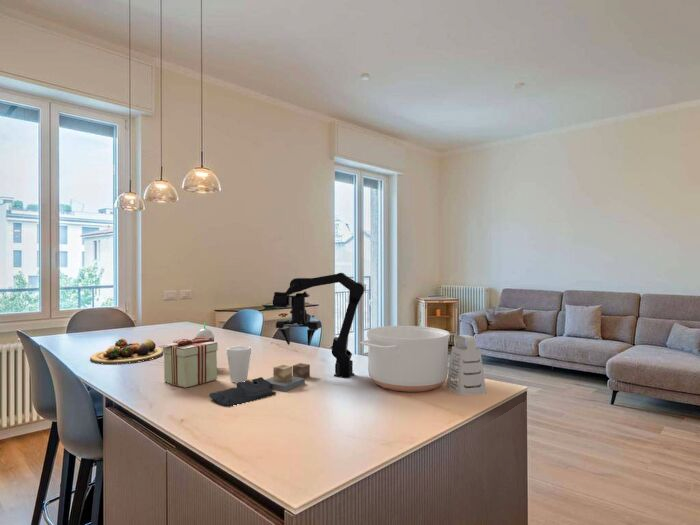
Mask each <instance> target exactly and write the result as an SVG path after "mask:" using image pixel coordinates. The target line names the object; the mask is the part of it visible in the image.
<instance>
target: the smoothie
mask: <svg viewBox="0 0 700 525" xmlns="http://www.w3.org/2000/svg"><path fill="white" fill-rule="evenodd" d="M198 336H206V337H207V338H208V339H210V340H211V341H210V342H215V335H214V333H213V332H212V330H210V329H209V328H206V322H203V328H201V329H199V330H198V331H197V332H196V334H195V336H194V338H196V337H198Z"/></svg>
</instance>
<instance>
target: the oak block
mask: <svg viewBox="0 0 700 525" xmlns="http://www.w3.org/2000/svg"><path fill="white" fill-rule="evenodd" d="M272 370H273V376H272V377H273V381H279V382H286V381H289V380H292V376H293V365H286V364H280V365H276V366H274V367H273V369H272Z"/></svg>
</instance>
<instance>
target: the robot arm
mask: <svg viewBox="0 0 700 525" xmlns="http://www.w3.org/2000/svg"><path fill="white" fill-rule="evenodd" d="M337 283H339V284H341V285H342V286H343V287H344V288H346V289H347V290H348V292H349V293H348V304H347V308H346V310H345V311H346V312H345V315H344V318H343V322H342V324H341V327H340V332H339V334H338V336H335V337H334V338H333V339H332V340H333V341H332V345H331V347H330V349H331V354H332V356H333V357H334V358H335V359H336V360H335V365H334V368H335V369H334V374H333V376H334V377H338V378H345V379H347V378H350V377H352V376H354V375H355V373H354V372H353V371H354V370H353V363H354V362H353V360H352V356H353V353H352V352H351V351H350V350H349V349H348V345H349V335H350V331H351V328H352V324H353V322H354V319H355V315H356V312H357V308H358V304H359V303H360V301H361V299H362V297H363V295H364V293H365V291H366V287H365V285H364V284H363V283H362V282H359V281H355V280H354V279H352V278H350V277H349V276H347V275H346V274H345V273H344V272H338V273H335V274H328V275H323V276H322V275H321V276H317V277H295V278H293V279H291V281H290V283H289V286H288V288H287V290H286V291H283V292H282V291H275V292H273V298H272V307H273V309H285V308H286V309H287V308H289V306H291V307H290V308H291V310H290V311H289V313H290V315H291V320H289V319H280V320H277V321H276V322H275V328H276V329H278V331H280V333H281V334H282V335H283V337H284V339H285V342H286V344H287V345H291V338H290V336H291V335H290V330H291V327H292V328H293V327H295V328H296V327H299V328H300V327H301V328H308V329H307V330H306V333H307V338H306V339H307V345H308V346H309V347H310V346H311V343H312V340H313V337H314V334H315V333H316V331H318V330H319V329H321V328H322V321H321V320H311V315H310V314H309V313H307V309H306V298H309V297H310V294H309V293H308V292H307V291H305V290H308V289H311V288H314V287H319V286H325V285H331V284H337ZM302 291H303V292H302ZM293 294H295V295H293Z"/></svg>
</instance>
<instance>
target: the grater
mask: <svg viewBox="0 0 700 525" xmlns="http://www.w3.org/2000/svg"><path fill="white" fill-rule="evenodd" d="M481 352H482V351H481V348H479V347H477V340H476V338H475V336H472V335H468V334H457V336H456V345H452V346H451V351H450V353H451V354H450V357H449V358H450V359H449V364H448V375H447V379H446V386H445V388H447V389H448V390H450V391H452V392H454V393H456V395H459V396H469V395H470V396H471V395H481V394H487V387H486V381H485V380H486V379H485V373H484V367H483V366H484V365H483V358H482V353H481ZM468 387H469V388H468Z"/></svg>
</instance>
